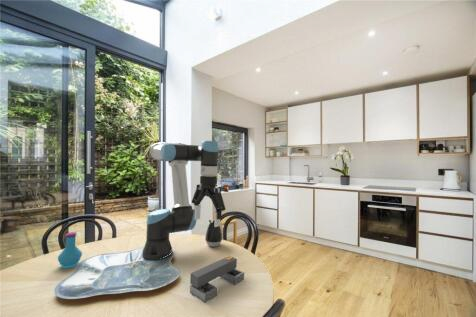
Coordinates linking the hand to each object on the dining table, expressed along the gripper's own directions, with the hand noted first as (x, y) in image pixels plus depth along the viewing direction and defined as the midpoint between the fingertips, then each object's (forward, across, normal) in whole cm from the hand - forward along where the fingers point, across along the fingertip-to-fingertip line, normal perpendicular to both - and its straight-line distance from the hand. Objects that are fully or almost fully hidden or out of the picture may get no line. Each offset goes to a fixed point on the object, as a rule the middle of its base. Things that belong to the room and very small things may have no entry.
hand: (206, 222), depth 98 cm
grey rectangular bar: (+23, +9, -2) cm, 25 cm away
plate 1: (+23, +11, -10) cm, 27 cm away
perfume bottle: (+25, -53, -39) cm, 70 cm away
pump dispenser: (+25, -23, +26) cm, 43 cm away
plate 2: (+23, +11, +6) cm, 26 cm away
